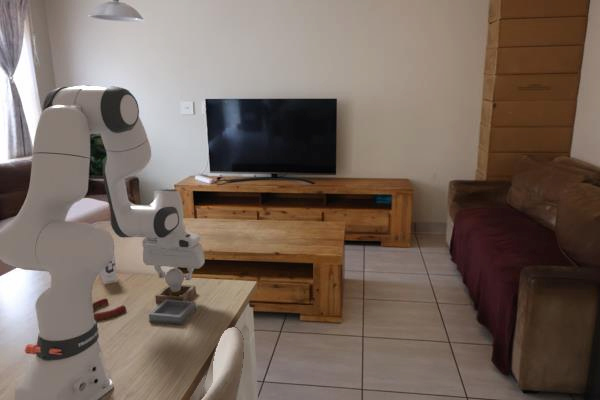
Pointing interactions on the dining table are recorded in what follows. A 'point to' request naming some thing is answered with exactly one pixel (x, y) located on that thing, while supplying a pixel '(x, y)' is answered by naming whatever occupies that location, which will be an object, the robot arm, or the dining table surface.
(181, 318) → the tray
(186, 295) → the frame
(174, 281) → the light bulb
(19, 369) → the dining table surface
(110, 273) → the ink box
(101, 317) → the pliers
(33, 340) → the dining table surface
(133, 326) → the dining table surface
